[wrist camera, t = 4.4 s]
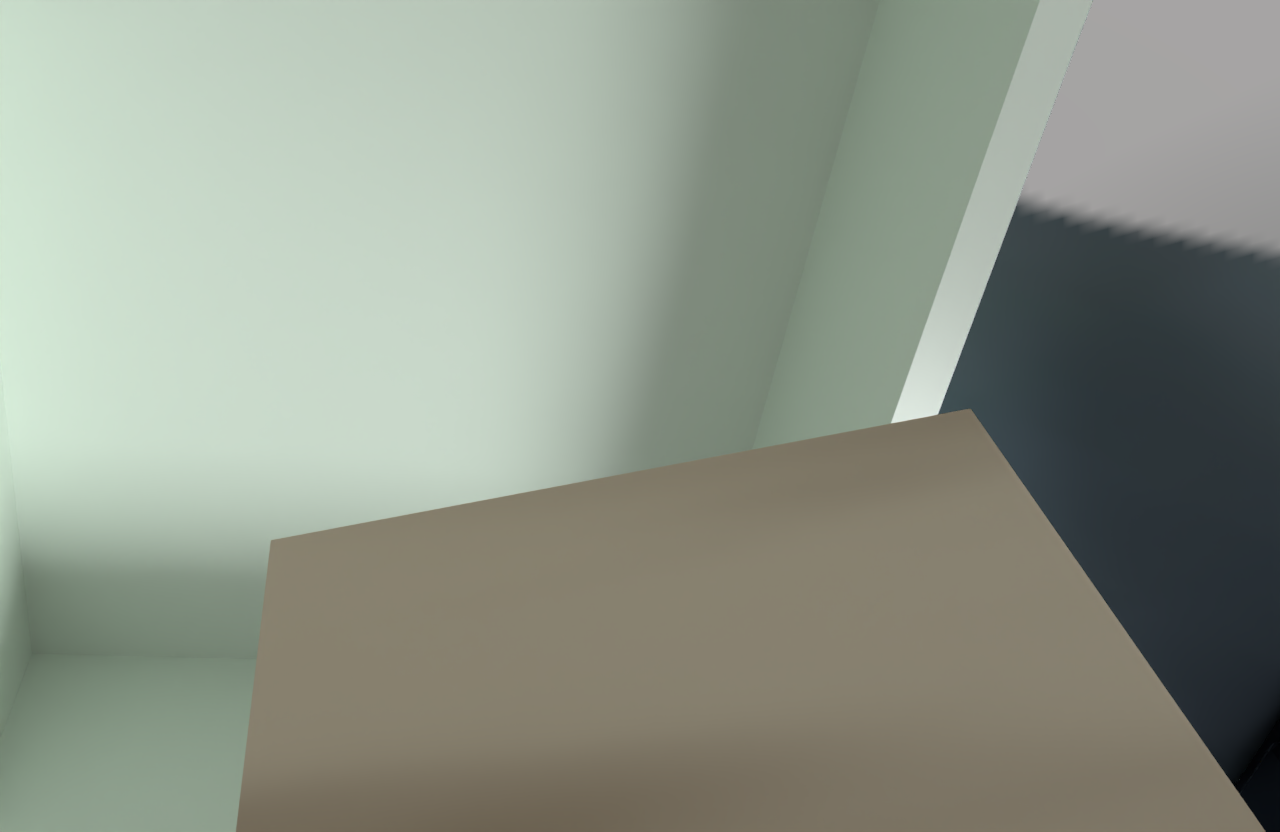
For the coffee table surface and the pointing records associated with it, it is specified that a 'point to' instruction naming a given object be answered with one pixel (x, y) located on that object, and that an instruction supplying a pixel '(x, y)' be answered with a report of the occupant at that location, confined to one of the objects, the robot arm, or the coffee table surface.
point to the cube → (719, 660)
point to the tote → (435, 299)
